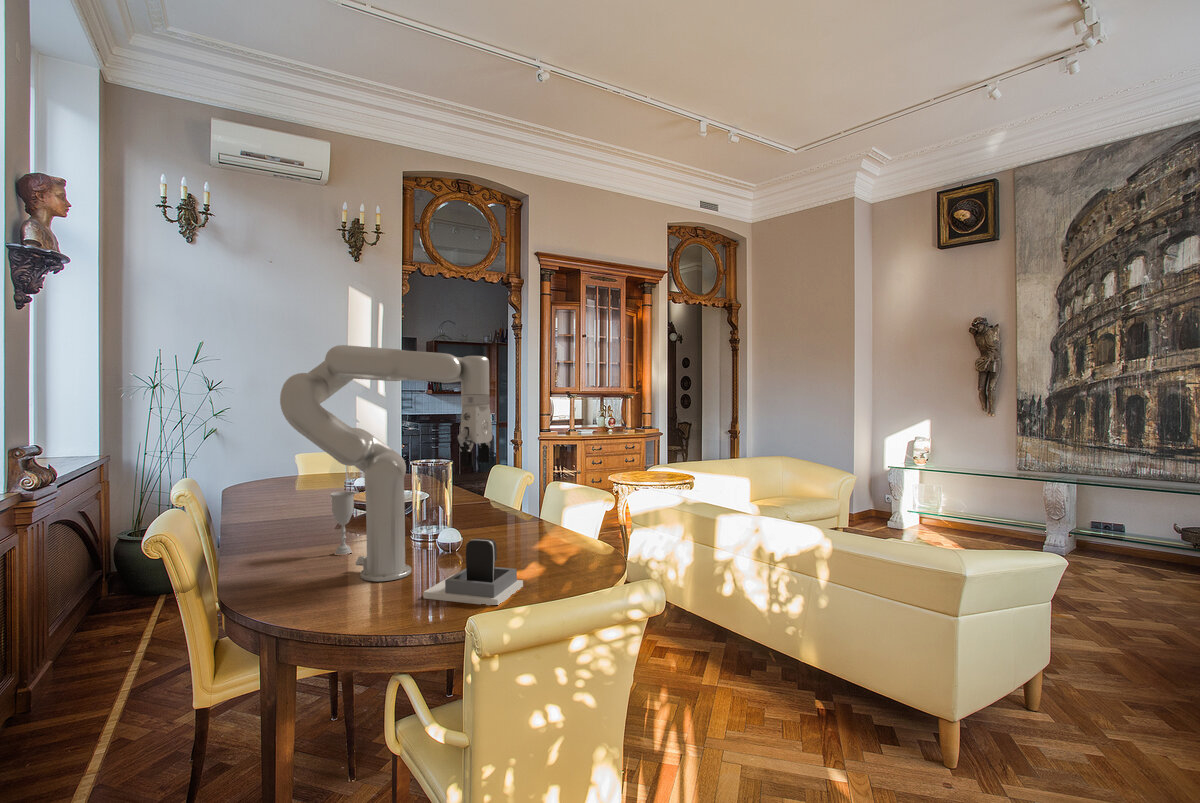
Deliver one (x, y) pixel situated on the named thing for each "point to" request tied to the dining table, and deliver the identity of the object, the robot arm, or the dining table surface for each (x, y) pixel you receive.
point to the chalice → (343, 515)
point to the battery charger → (481, 560)
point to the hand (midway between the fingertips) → (475, 464)
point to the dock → (476, 588)
